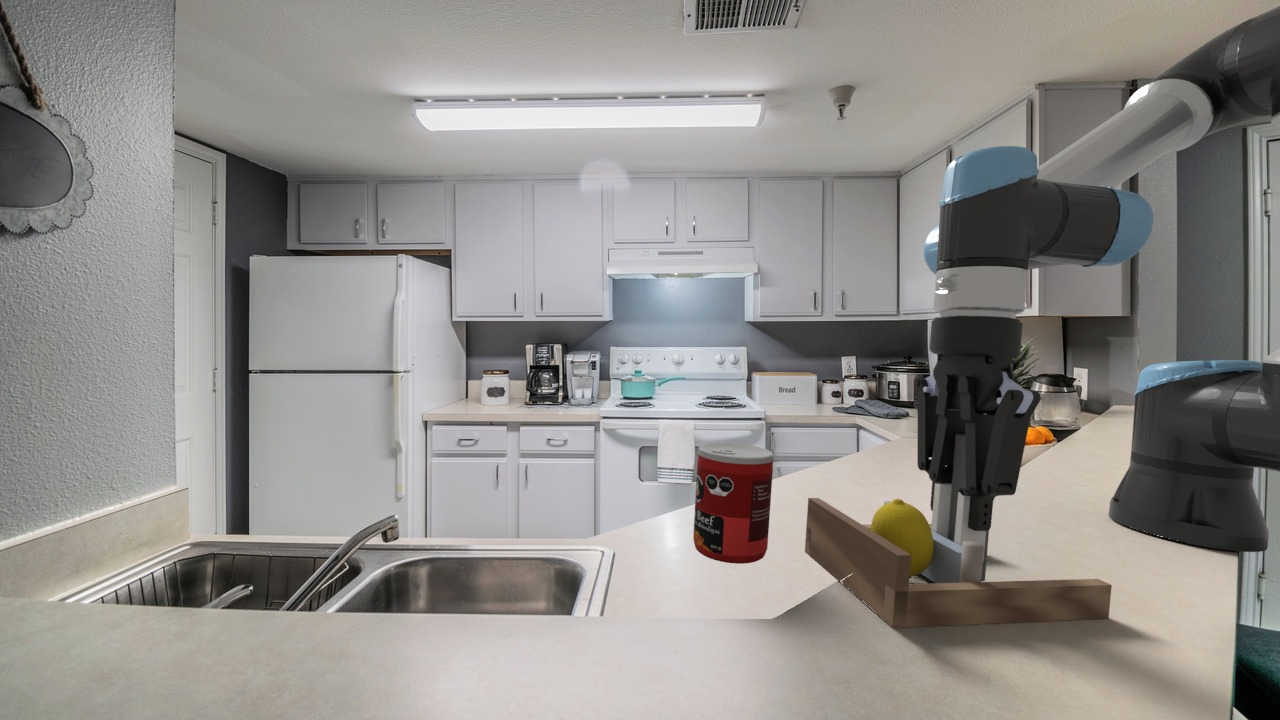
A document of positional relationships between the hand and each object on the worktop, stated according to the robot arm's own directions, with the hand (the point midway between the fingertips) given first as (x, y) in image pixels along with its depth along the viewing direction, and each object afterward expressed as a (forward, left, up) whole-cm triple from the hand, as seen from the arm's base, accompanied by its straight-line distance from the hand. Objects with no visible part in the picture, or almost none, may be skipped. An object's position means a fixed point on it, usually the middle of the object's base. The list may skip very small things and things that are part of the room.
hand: (955, 553), depth 53 cm
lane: (+1, 0, -3) cm, 3 cm away
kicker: (0, 0, -2) cm, 2 cm away
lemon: (+5, 0, -3) cm, 6 cm away
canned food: (+20, -8, -3) cm, 22 cm away
